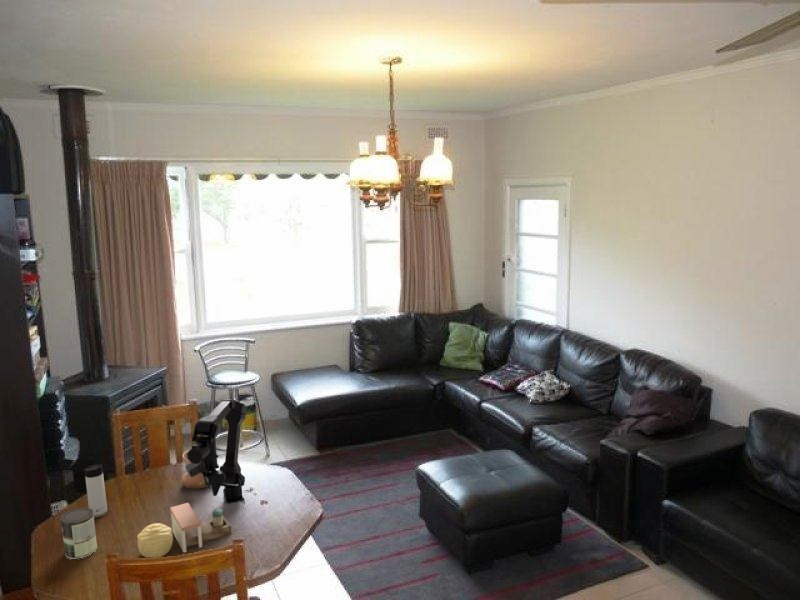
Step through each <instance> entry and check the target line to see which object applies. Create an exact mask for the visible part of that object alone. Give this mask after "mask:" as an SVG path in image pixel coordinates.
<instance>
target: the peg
mask: <svg viewBox="0 0 800 600" xmlns="http://www.w3.org/2000/svg"><path fill="white" fill-rule="evenodd" d="M211 515H212V520H213V529H214V528H218V527H221V526H223V516H224V515H223V509H222V508H216V509H213V510H212V511H211Z"/></svg>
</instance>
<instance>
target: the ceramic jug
mask: <svg viewBox="0 0 800 600" xmlns="http://www.w3.org/2000/svg"><path fill="white" fill-rule="evenodd" d="M189 450H190V449H188V450H187V451H184V453H183V454H182V459H183V463H184V465H185V466H186V465H188V464H190V463H191V462H190V461H189V460H188V457H187V454H188V452H189ZM181 483H182V485H183V486H184V487H185V488H187V489H192V490H200V489H204V488H207V487H209V486H206V483H205V480H204V477H203V475H202V473H201V472H200V473H199V474H197V475H196V476H194V477H190V475H189V474H188V472H187V471H186V472H184V474H183V475H182V477H181Z"/></svg>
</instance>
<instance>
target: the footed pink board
mask: <svg viewBox="0 0 800 600" xmlns="http://www.w3.org/2000/svg"><path fill="white" fill-rule="evenodd" d="M169 511H170V515H171V517H170V518H171V529H172V535H173V536H174V537H175V539H176V541H177V543H178V545H179V546H180V549H181V550H182V552H183V553H187V547H186V539H185V530H188V529H192V528H195V527H197V531H198V548H202V547H203V542H202V536H201V523H202V522H201V521H200V519H199V518H198V515H197V514H196V513H195V511H194V510H193V508H192V506H191V504H190V503H189V502H185V503H182V504H178V505H174V506H171V507H170V509H169Z"/></svg>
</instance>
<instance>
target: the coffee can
mask: <svg viewBox="0 0 800 600" xmlns="http://www.w3.org/2000/svg"><path fill="white" fill-rule="evenodd" d="M60 524H61V533H62V539H63V546H64V556H66V557H67V558H66V557H65V558H66V559H68V558H70V559H69V560H71V559H78V558H82V559H84V558H83V557H85V558H87V557H86V556H88V557H90V556H92V555H93V554H94V553H95V552H96V551H97V550H98V546H97V545H98V544H97V536H96V535H97V534H96V526H95V517H93V510H92V509H91V508H89V507H77V508H73V509H70V510H68V511H66V512H65V513H63V514H62V515H61V516H60ZM96 549H97V550H96ZM93 552H94V553H93ZM92 553H93V554H92ZM91 554H92V555H91ZM89 555H90V556H89ZM78 560H79V559H78Z"/></svg>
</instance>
